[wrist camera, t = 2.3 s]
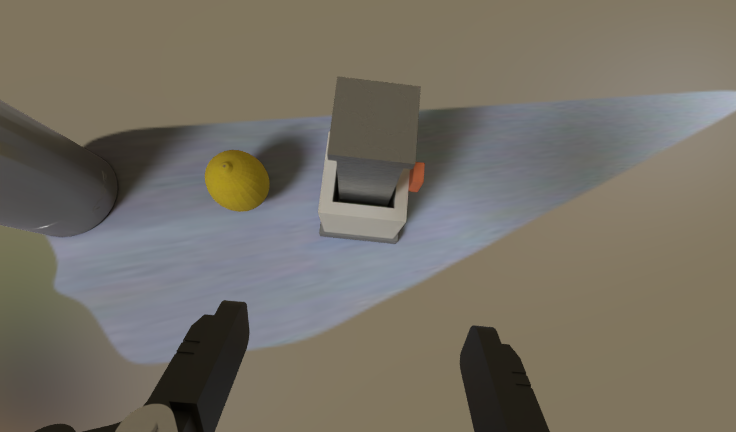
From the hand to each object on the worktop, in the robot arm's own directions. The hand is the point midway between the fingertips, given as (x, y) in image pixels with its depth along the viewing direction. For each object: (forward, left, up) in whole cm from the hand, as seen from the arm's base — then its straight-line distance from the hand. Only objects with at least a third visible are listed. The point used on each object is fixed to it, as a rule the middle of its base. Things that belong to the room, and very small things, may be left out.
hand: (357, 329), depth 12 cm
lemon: (-12, +11, -23) cm, 28 cm away
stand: (0, +11, -23) cm, 25 cm away
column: (0, +11, -21) cm, 24 cm away
